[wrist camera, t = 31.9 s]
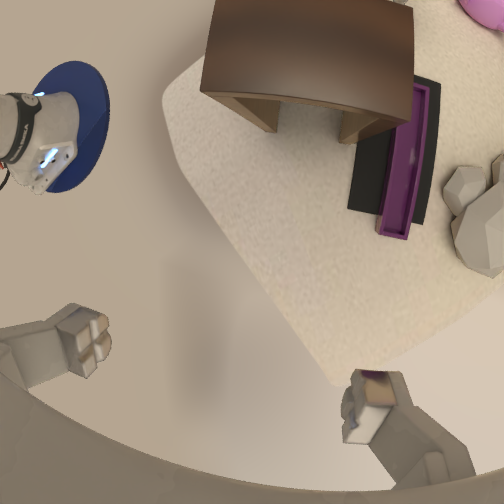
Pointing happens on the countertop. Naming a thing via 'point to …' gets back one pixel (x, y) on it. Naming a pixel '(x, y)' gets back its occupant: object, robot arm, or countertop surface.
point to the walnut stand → (313, 61)
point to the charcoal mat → (376, 157)
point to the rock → (478, 217)
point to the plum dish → (404, 169)
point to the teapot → (486, 12)
